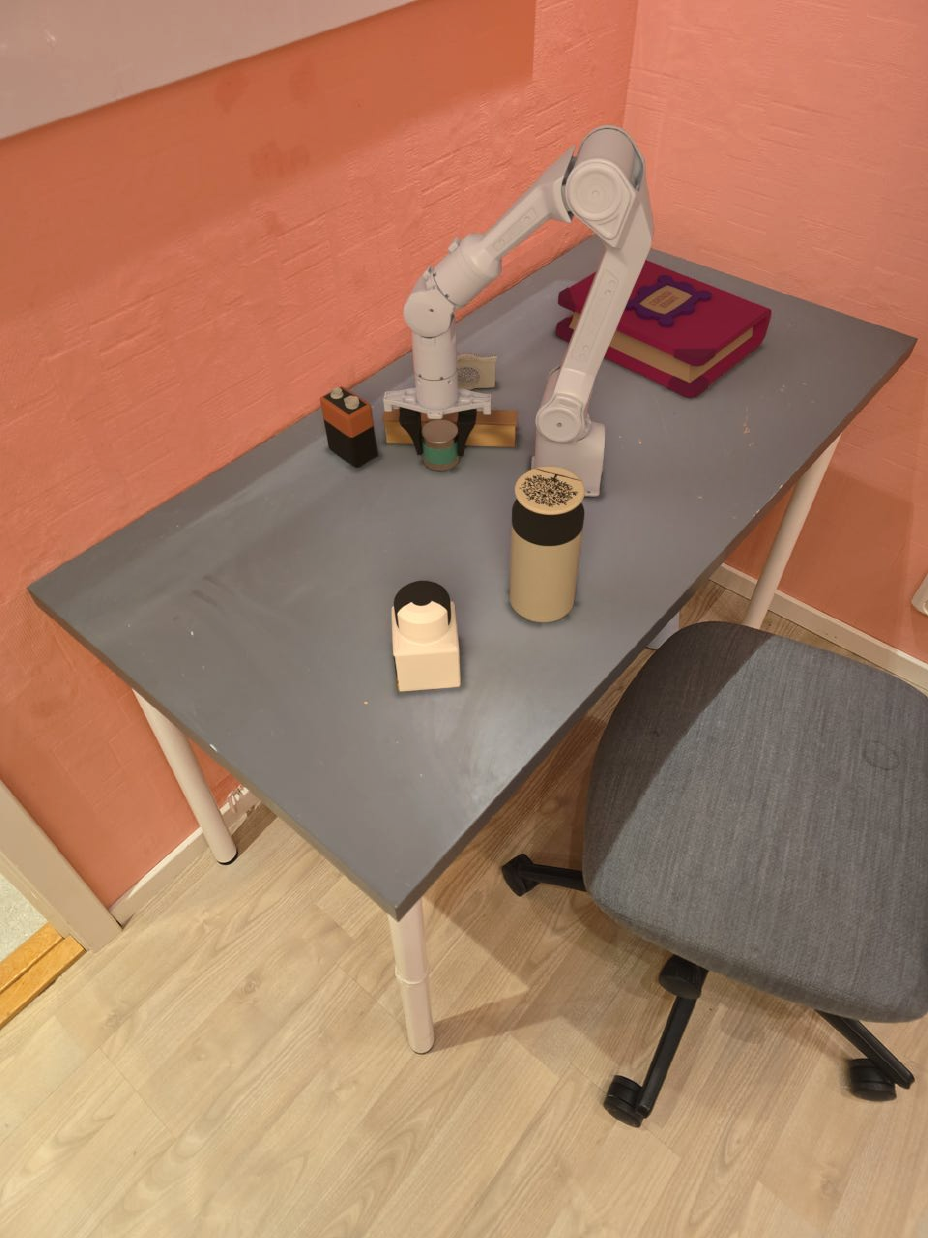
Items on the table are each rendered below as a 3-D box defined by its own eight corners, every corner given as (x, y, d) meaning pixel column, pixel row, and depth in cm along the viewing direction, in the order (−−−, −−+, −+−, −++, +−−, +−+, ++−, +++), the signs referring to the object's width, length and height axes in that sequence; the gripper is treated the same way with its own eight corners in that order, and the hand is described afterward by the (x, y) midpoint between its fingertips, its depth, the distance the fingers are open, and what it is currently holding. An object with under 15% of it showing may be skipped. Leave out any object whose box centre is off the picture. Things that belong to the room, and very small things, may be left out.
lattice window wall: (420, 391, 132) (418, 358, 128) (420, 385, 133) (418, 352, 129) (496, 388, 132) (496, 355, 128) (496, 382, 133) (496, 349, 129)
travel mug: (555, 633, 100) (565, 523, 86) (497, 607, 103) (498, 497, 89) (585, 590, 104) (599, 479, 91) (529, 567, 107) (535, 455, 94)
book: (627, 286, 151) (632, 244, 146) (764, 343, 139) (776, 300, 133) (551, 334, 142) (554, 291, 136) (691, 400, 129) (701, 356, 123)
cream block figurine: (396, 643, 100) (386, 575, 91) (456, 639, 100) (452, 569, 91) (398, 693, 95) (388, 625, 86) (461, 687, 95) (458, 620, 86)
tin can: (460, 448, 122) (459, 419, 119) (457, 471, 119) (456, 443, 115) (425, 447, 123) (423, 418, 119) (421, 470, 119) (418, 442, 116)
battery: (356, 470, 120) (347, 412, 113) (327, 449, 124) (316, 391, 116) (379, 456, 122) (372, 398, 115) (350, 436, 125) (341, 378, 118)
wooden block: (517, 428, 126) (518, 404, 122) (516, 448, 123) (516, 423, 119) (389, 425, 127) (386, 400, 124) (384, 444, 124) (381, 419, 121)
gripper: (376, 384, 107) (386, 467, 118) (489, 387, 106) (489, 471, 117) (384, 353, 112) (393, 436, 122) (492, 356, 111) (492, 439, 121)
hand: (440, 451), depth 120 cm, fingers closed on tin can, 5 cm apart
